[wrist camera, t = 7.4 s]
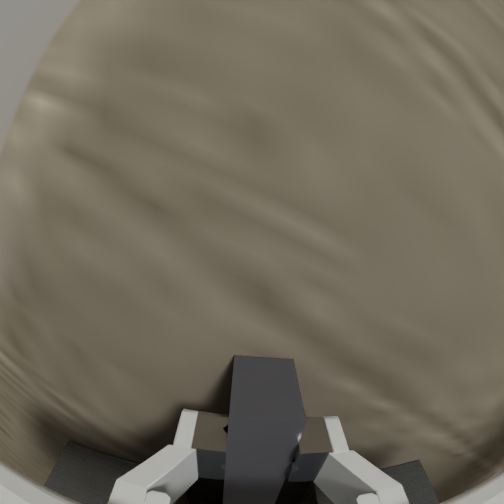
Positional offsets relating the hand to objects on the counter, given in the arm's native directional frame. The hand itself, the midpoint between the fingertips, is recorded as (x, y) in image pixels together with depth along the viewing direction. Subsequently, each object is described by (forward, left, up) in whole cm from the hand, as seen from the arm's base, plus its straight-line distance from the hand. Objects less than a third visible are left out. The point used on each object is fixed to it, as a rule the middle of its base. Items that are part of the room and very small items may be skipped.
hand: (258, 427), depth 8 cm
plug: (+7, 0, -2) cm, 7 cm away
